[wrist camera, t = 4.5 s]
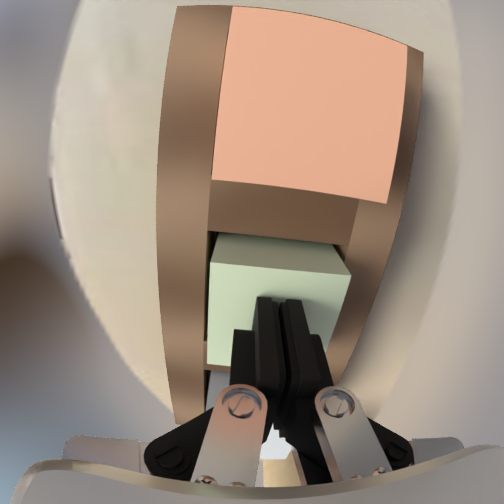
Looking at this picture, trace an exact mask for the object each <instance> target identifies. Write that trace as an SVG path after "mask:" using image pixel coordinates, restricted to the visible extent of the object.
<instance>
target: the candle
mask: <svg viewBox="0 0 504 504" xmlns="http://www.w3.org/2000/svg"><path fill="white" fill-rule="evenodd" d="M263 472H264V487H292V486H301V482H300V479H299V475H298V472H297V468H296V465H295V461H294V458H293V454H292V449H291V451H290V453H289V454H288V456H287V458H286V459H263Z"/></svg>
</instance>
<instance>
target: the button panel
mask: <svg viewBox="0 0 504 504" xmlns="http://www.w3.org/2000/svg"><path fill="white" fill-rule="evenodd" d="M234 7H246V6H234ZM232 8H233V6H226V5H196V6H177V10H176V15H175V20H174V25H173V30H172V35H171V41H170V47H169V53H168V59H167V66H166V73H165V81H164V89H163V98H162V108H161V118H160V131H159V145H158V164H157V197H156V232H157V266H158V285H159V300H160V312H161V324H162V334H163V343H164V351H165V359H166V367H167V374H168V381H169V388H170V394H171V400H172V406H173V412H174V417H175V422H176V424H180V425H183V424H185V423H186V422H188V421H190V420H192V419H193V418H195V417H197V416H199V415H200V414H202V413H204V412H205V411H206V404H207V396H208V389H209V382H210V375H211V370H212V371H222V372H230V366H223V365H214V364H207V339H208V305H209V281H210V262H211V258H212V255H213V251H214V248H215V245H216V241H217V238H218V234H219V232H228V233H238V234H247V235H257V236H266V237H276V238H285V239H294V240H303V241H312V242H321V243H329V244H332V245H333V247H334V248H335V250H336V252H337V253H338V255H339V256H340V258H341V260H342V261H343V263H344V264H345V266H346V268H347V269H348V271H349V272H350V274H351V279H350V282H349V285H348V289H347V292H346V295H345V298H344V301H343V304H342V307H341V310H340V313H339V316H338V319H337V322H336V325H335V328H334V331H333V333H332V336H331V339H330V342H329V344H328V347H327V350H326V352H325V355H326V358H327V362H328V366H329V369H330V373H331V376H332V380H333V384H334V386H337V384H338V382H339V380H340V378H341V376H342V374H343V372H344V370H345V368H346V366H347V363H348V361H349V359H350V357H351V355H352V353H353V350H354V348H355V346H356V343H357V341H358V339H359V337H360V334H361V332H362V329H363V327H364V324H365V322H366V319H367V317H368V314H369V312H370V309H371V307H372V304H373V301H374V299H375V296H376V293H377V290H378V288H379V285H380V282H381V279H382V276H383V273H384V270H385V267H386V264H387V261H388V258H389V254H390V251H391V248H392V244H393V241H394V237H395V234H396V230H397V227H398V223H399V219H400V215H401V211H402V207H403V203H404V199H405V195H406V190H407V185H408V181H409V176H410V171H411V166H412V160H413V155H414V149H415V142H416V136H417V129H418V121H419V113H420V103H421V92H422V79H423V54H424V53H423V52H421V51H419V50H417V49H415V48H412V47H410V46H408V45H406V46H407V68H406V83H405V94H404V104H403V113H402V121H401V128H400V135H399V142H398V148H397V154H396V160H395V165H394V170H393V175H392V180H391V185H390V190H389V195H388V199H387V203H386V204H385V203H380V202H375V201H369V200H364V199H358V198H353V197H347V196H341V195H335V194H329V193H322V192H316V191H309V190H302V189H294V188H287V187H279V186H271V185H263V184H254V183H244V182H234V181H224V180H212V169H213V157H214V147H215V136H216V127H217V117H218V108H219V99H220V91H221V83H222V75H223V68H224V60H225V53H226V46H227V39H228V33H229V27H230V20H231V14H232ZM250 8H258V7H250ZM261 9H267V8H261ZM270 10H276V9H270ZM278 11H283V10H278ZM285 12H289V11H285ZM291 13H296V12H291ZM297 14H301V13H297ZM303 15H306V14H303ZM308 16H312V15H308ZM313 17H316V16H313ZM318 18H321V17H318ZM322 19H325V18H322ZM327 20H329V19H327ZM331 21H333V20H331ZM335 22H337V21H335ZM339 23H341V22H339ZM342 24H345V23H342ZM346 25H348V24H346ZM350 26H352V25H350ZM353 27H355V26H353ZM356 28H359V27H356ZM360 29H362V28H360ZM363 30H365V29H363ZM366 31H368V30H366ZM369 32H371V31H369ZM372 33H374V32H372ZM375 34H377V33H375ZM378 35H380V34H378ZM381 36H383V35H381ZM383 37H385V36H383ZM386 38H388V37H386ZM389 39H391V38H389ZM391 40H393V39H391ZM394 41H396V40H394ZM397 42H398V41H397ZM399 43H401V42H399ZM401 44H403V43H401ZM404 45H405V44H404Z"/></svg>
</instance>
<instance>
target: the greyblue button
mask: <svg viewBox="0 0 504 504" xmlns="http://www.w3.org/2000/svg"><path fill="white" fill-rule="evenodd" d="M229 379H230V372H222V371H212V370H211V375H210V382H209V389H208V396H207V404H206V411H207V410H209V409H210V408H212V407H214V405H215V402H216V399H217V396H218V395H219V393H220V392H221V391H222V390H223V389H224V388H226V387H228V386H229ZM290 451H291V445H290V444H289V443H287V442H286V441H285V438H279V430H274V428H273V424H272V427H271V430H270V433H269V436H268V438H267V441H266V442H265V443H263V444H262V446H261V452H260V458H259V459H286V458H287V456H288V454H289V453H290Z"/></svg>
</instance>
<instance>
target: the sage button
mask: <svg viewBox="0 0 504 504" xmlns="http://www.w3.org/2000/svg"><path fill="white" fill-rule="evenodd" d="M350 279H351V274H350V272H349V271H348V269H347V268H346V266H345V264H344V263H343V261H342V260H341V258H340V256H339V255H338V253H337V252H336V250H335V248H334V247H333V245H332V244H329V243H321V242H312V241H303V240H294V239H285V238H276V237H266V236H257V235H247V234H238V233H228V232H219V234H218V238H217V241H216V245H215V248H214V251H213V255H212V258H211V262H210V281H209V305H208V339H207V364H214V365H223V366H231V353H232V342H233V332H234V329H242V330H252V324H253V317H254V311H255V304H256V298H257V296H258V297H270V298H272V302H277V307H278V311H279V306H280V303H281V302H285V301H286V299H295V300H301V301H302V304H303V308H304V312H305V316H306V320H307V324H308V328H309V331H310V334H318V335H320V338H321V341H322V344H323V348H324V351H325V352H326V350H327V347H328V344H329V342H330V339H331V336H332V333H333V331H334V328H335V325H336V322H337V319H338V316H339V313H340V310H341V307H342V304H343V301H344V298H345V295H346V292H347V289H348V285H349V282H350Z"/></svg>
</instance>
